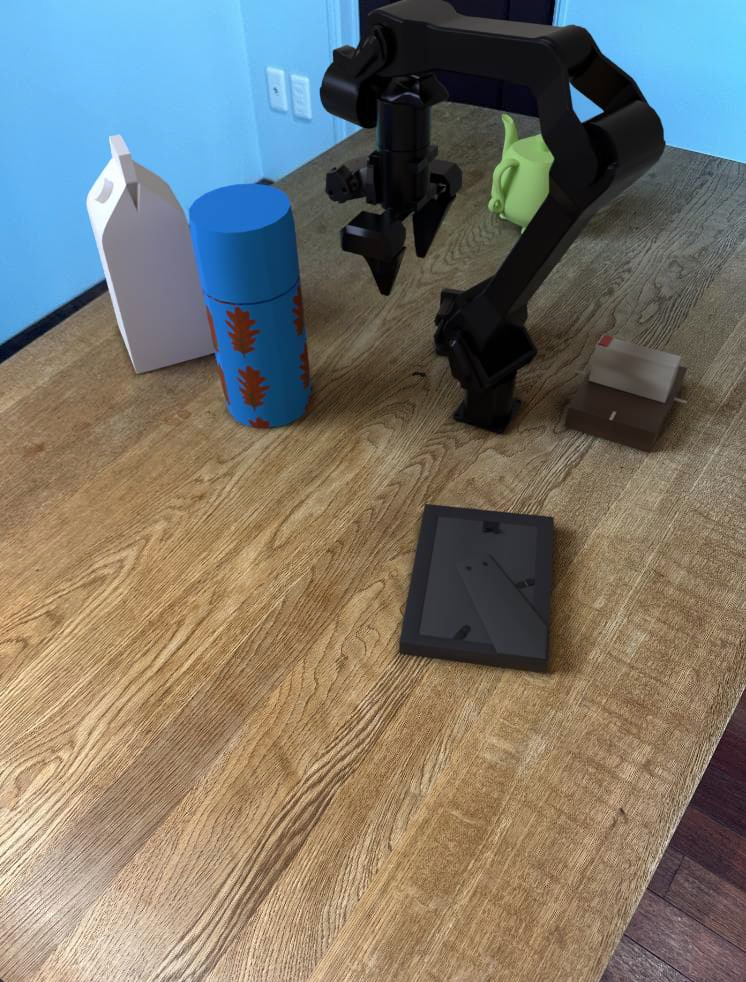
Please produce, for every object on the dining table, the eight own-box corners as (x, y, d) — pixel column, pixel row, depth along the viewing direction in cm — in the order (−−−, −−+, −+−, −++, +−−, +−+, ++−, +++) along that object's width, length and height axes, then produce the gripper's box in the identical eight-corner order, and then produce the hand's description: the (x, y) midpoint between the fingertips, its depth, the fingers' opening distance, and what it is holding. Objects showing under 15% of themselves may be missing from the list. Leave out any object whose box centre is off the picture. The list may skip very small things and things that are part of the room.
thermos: (300, 433, 97) (276, 236, 78) (215, 425, 99) (172, 231, 80) (320, 377, 104) (302, 184, 85) (240, 371, 106) (206, 180, 87)
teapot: (466, 230, 126) (471, 148, 117) (496, 190, 134) (503, 109, 125) (568, 249, 121) (582, 164, 112) (593, 205, 129) (608, 122, 120)
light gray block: (670, 392, 93) (682, 354, 90) (664, 403, 92) (676, 365, 88) (594, 370, 97) (603, 333, 93) (588, 380, 96) (596, 343, 92)
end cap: (518, 335, 107) (523, 289, 102) (506, 366, 103) (511, 320, 98) (444, 323, 110) (447, 278, 105) (430, 353, 106) (431, 308, 101)
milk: (220, 351, 109) (181, 154, 89) (136, 374, 106) (77, 177, 87) (197, 306, 116) (156, 115, 97) (118, 326, 114) (60, 135, 95)
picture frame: (545, 673, 73) (551, 529, 85) (548, 660, 72) (554, 514, 83) (399, 653, 76) (424, 515, 87) (399, 640, 74) (424, 501, 85)
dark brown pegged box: (663, 457, 91) (670, 436, 88) (550, 423, 96) (554, 402, 93) (694, 391, 98) (701, 369, 96) (588, 362, 103) (592, 341, 101)
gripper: (378, 96, 93) (381, 226, 105) (291, 164, 83) (304, 299, 94) (468, 111, 89) (460, 244, 100) (387, 184, 79) (389, 322, 90)
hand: (403, 275), depth 96 cm, fingers open, 9 cm apart
